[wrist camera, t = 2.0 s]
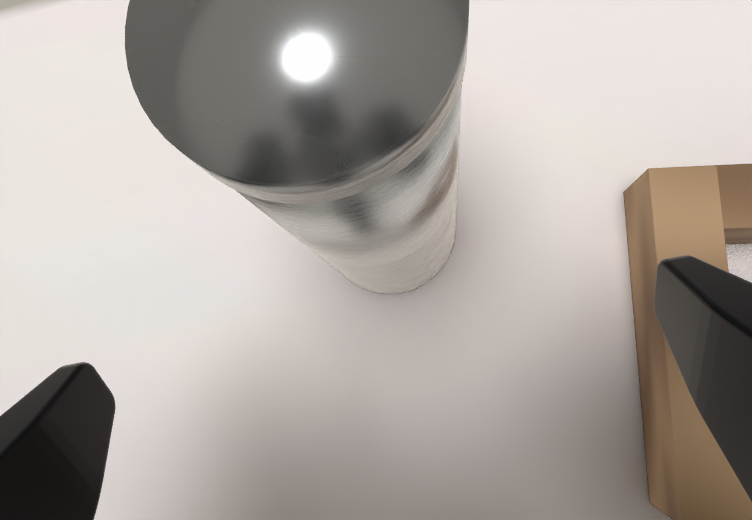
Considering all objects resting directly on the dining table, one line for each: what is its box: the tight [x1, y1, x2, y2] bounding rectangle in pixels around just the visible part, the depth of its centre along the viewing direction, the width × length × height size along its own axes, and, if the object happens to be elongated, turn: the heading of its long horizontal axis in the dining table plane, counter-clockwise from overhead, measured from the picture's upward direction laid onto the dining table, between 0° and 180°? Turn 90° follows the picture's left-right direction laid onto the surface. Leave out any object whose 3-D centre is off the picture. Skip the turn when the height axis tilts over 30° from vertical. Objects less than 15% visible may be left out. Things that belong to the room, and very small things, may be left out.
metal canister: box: [125, 0, 469, 294], centre depth 14 cm, size 5×5×13 cm
